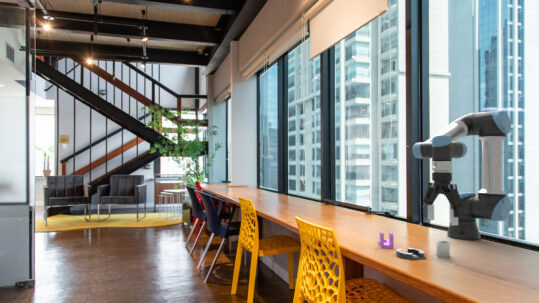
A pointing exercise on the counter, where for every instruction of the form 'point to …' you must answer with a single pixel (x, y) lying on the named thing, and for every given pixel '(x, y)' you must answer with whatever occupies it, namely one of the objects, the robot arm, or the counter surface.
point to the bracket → (386, 241)
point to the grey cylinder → (443, 248)
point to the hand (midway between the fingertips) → (442, 222)
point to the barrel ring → (410, 253)
